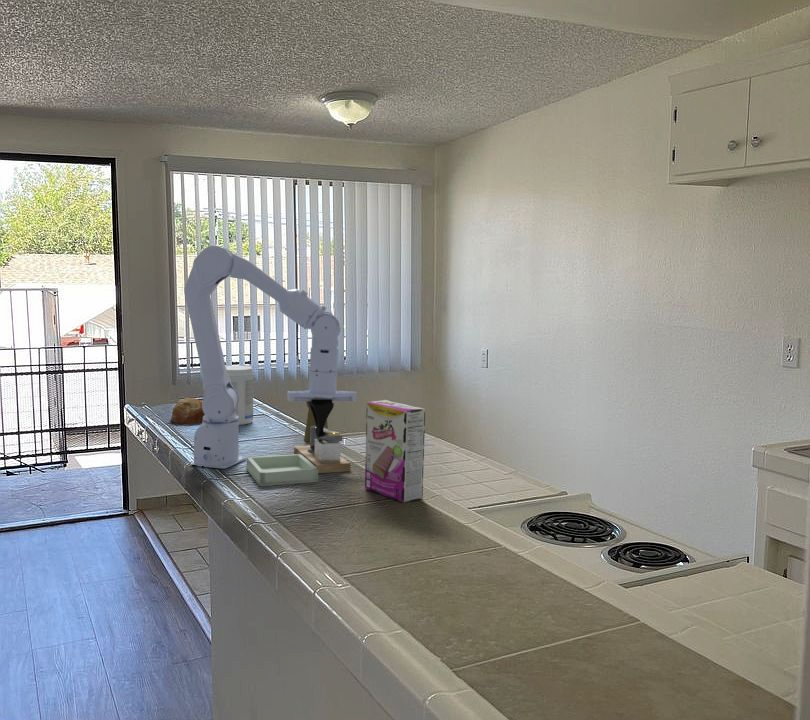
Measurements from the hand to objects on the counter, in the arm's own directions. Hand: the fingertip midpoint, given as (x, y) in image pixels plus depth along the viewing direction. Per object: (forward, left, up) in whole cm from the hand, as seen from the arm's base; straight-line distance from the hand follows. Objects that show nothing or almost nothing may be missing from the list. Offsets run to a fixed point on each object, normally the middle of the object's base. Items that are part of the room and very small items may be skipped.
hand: (320, 435), depth 158 cm
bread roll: (+31, +49, -6) cm, 58 cm away
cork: (+21, +9, -6) cm, 23 cm away
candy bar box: (-17, -21, -6) cm, 28 cm away
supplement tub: (+33, +37, -6) cm, 50 cm away
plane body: (+1, 0, -6) cm, 6 cm away
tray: (-12, +3, -6) cm, 14 cm away
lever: (0, -1, -4) cm, 4 cm away
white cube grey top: (-3, -3, -4) cm, 6 cm away
